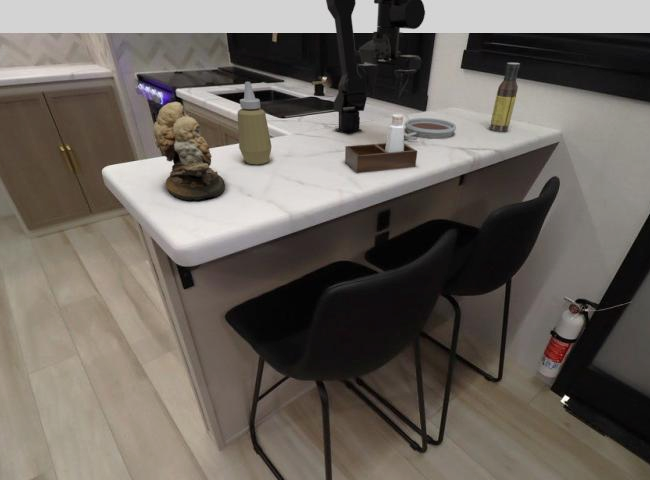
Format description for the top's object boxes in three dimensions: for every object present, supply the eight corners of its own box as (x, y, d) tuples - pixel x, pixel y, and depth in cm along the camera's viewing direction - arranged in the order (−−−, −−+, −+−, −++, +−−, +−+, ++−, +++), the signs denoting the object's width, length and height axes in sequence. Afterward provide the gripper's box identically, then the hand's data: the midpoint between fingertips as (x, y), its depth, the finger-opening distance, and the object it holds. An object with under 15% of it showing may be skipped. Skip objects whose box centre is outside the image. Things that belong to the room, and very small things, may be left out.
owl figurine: (237, 196, 80) (223, 107, 69) (180, 208, 74) (154, 114, 64) (210, 170, 91) (194, 91, 81) (159, 179, 86) (134, 95, 75)
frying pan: (372, 128, 118) (424, 114, 134) (372, 138, 120) (423, 123, 136) (416, 140, 109) (466, 123, 125) (415, 150, 111) (464, 132, 127)
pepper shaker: (405, 163, 98) (410, 117, 91) (384, 163, 97) (388, 117, 91) (401, 156, 102) (406, 112, 95) (382, 156, 102) (385, 112, 95)
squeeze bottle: (279, 159, 99) (272, 81, 88) (261, 168, 93) (251, 86, 82) (254, 154, 102) (244, 78, 91) (234, 163, 96) (221, 82, 85)
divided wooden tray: (345, 162, 100) (345, 146, 97) (400, 156, 104) (402, 141, 102) (357, 172, 93) (357, 156, 91) (415, 166, 98) (417, 150, 96)
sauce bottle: (501, 127, 134) (518, 61, 122) (511, 132, 130) (529, 64, 117) (485, 127, 133) (500, 61, 121) (494, 132, 128) (511, 64, 116)
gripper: (339, 25, 94) (338, 95, 104) (397, 29, 84) (391, 106, 94) (368, 25, 101) (366, 91, 110) (426, 29, 91) (417, 101, 100)
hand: (383, 97), depth 103 cm, fingers open, 9 cm apart
